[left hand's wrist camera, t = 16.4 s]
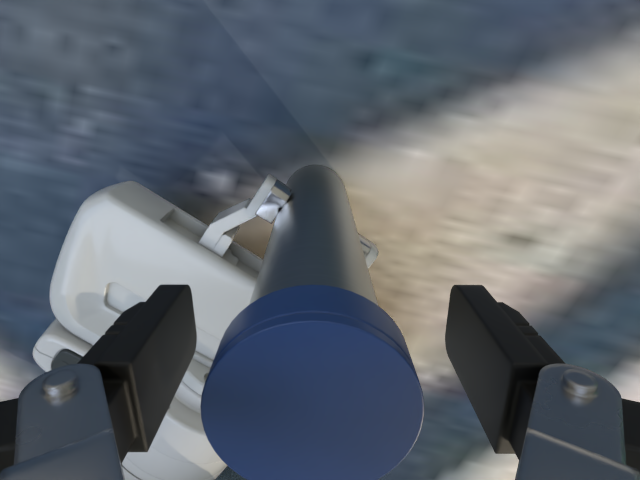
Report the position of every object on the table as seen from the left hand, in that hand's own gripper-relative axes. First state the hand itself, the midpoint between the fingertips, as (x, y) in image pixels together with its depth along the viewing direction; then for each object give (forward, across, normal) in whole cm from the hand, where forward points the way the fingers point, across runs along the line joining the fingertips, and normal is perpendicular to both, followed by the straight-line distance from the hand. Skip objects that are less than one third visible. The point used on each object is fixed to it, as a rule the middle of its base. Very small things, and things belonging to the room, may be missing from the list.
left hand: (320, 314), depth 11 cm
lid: (-3, 0, +1) cm, 3 cm away
